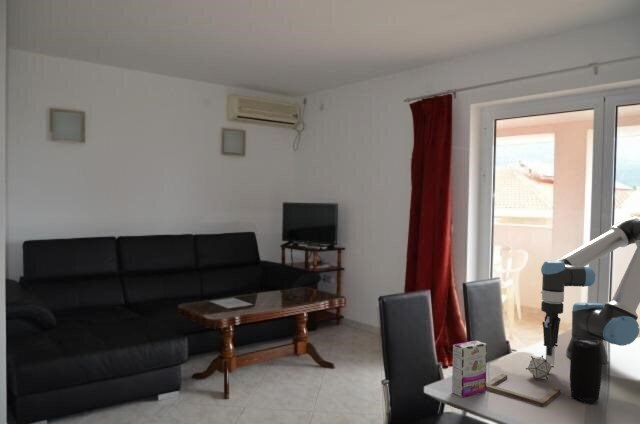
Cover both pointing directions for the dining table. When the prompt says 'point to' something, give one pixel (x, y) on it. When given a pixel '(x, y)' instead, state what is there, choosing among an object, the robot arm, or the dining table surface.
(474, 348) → the candy bar box
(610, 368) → the dining table surface
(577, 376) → the portable speaker
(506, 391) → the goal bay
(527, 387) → the dining table surface
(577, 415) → the dining table surface
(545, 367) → the game die
